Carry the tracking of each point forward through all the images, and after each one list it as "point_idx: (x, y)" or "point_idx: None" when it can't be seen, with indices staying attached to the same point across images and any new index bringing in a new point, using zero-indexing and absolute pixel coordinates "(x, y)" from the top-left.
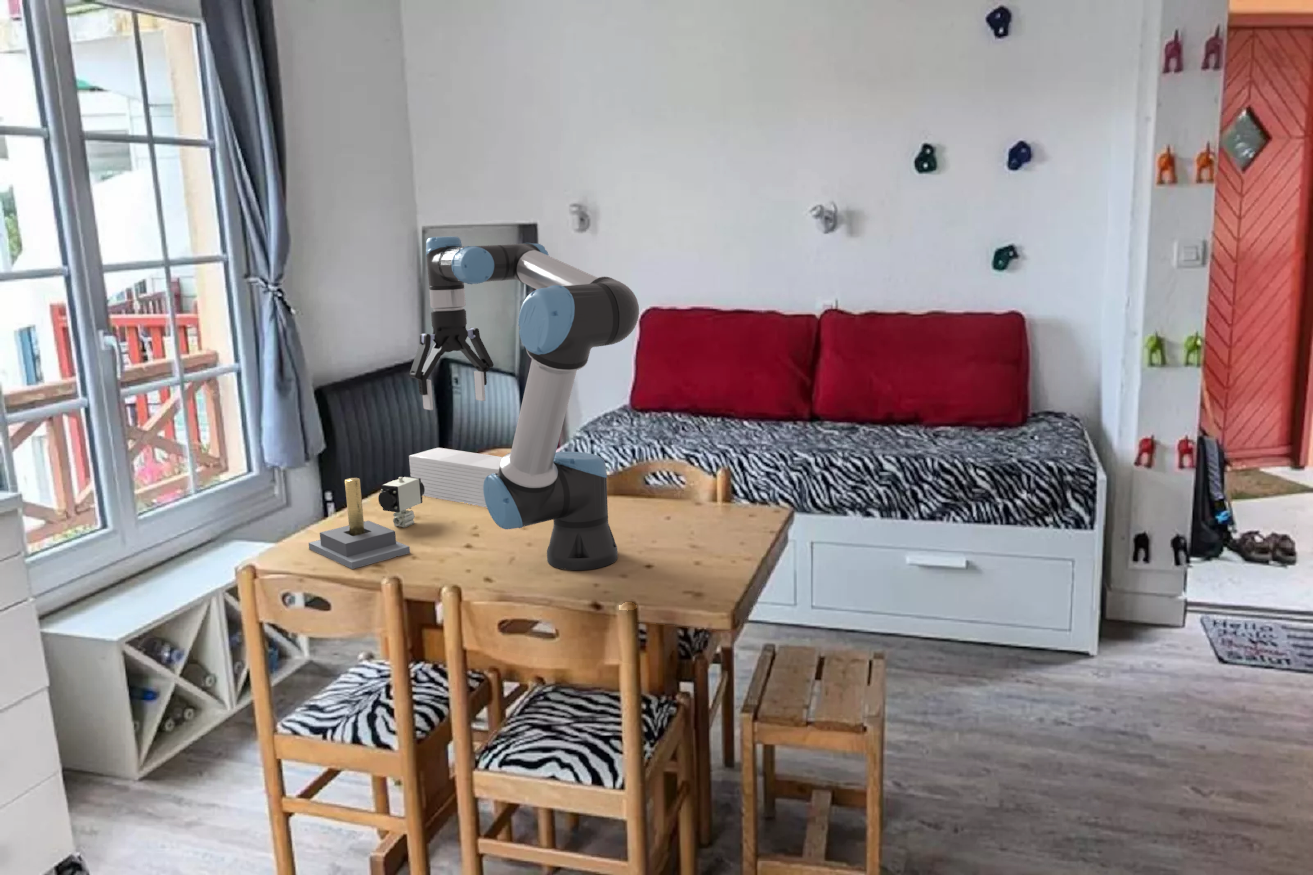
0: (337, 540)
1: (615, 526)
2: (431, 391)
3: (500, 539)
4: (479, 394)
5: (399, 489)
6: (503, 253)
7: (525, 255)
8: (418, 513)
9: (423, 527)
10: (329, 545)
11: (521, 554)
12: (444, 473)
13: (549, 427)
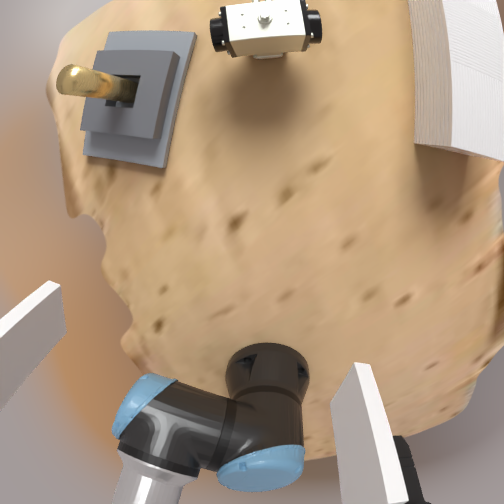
0: (84, 105)
1: (392, 341)
2: (20, 383)
3: (286, 245)
4: (342, 411)
5: (235, 43)
6: None
7: None
8: (332, 25)
9: (275, 83)
10: None
11: (245, 310)
12: (431, 11)
13: None
